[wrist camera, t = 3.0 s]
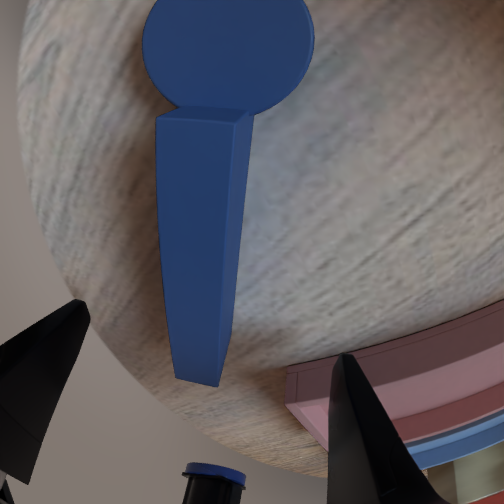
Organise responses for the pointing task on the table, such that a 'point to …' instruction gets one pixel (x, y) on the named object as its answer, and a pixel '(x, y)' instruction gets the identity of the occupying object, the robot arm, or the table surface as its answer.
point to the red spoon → (492, 499)
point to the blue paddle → (212, 152)
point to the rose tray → (416, 378)
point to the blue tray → (458, 441)
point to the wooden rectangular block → (470, 476)
